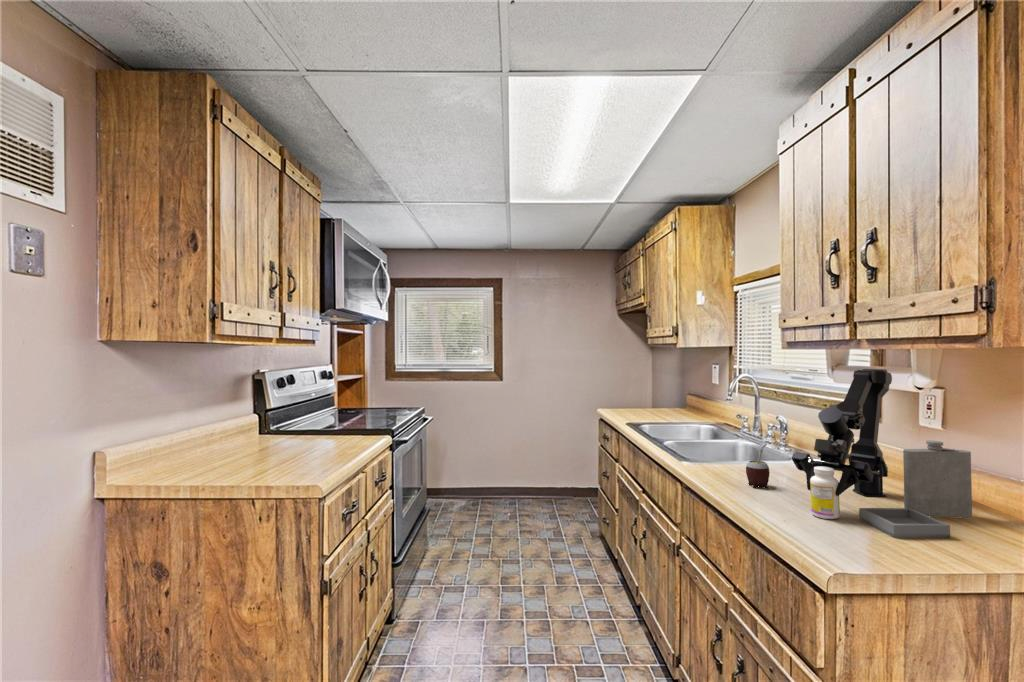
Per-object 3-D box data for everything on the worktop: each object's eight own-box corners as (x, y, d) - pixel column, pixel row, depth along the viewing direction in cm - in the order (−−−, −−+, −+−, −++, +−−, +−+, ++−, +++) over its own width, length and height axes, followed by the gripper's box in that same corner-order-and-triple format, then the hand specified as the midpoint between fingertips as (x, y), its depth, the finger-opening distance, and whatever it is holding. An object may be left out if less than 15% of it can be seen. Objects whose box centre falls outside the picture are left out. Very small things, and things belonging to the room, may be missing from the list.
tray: (910, 519, 135) (909, 508, 135) (950, 537, 122) (949, 525, 122) (859, 519, 135) (859, 508, 135) (893, 537, 122) (893, 525, 122)
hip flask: (909, 516, 137) (907, 442, 137) (899, 512, 141) (898, 439, 141) (975, 518, 135) (973, 442, 135) (963, 513, 139) (962, 440, 139)
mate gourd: (751, 482, 173) (750, 438, 173) (776, 487, 167) (775, 441, 167) (741, 486, 168) (741, 441, 168) (767, 491, 162) (766, 444, 162)
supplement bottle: (824, 510, 142) (823, 464, 142) (845, 518, 136) (844, 469, 136) (805, 513, 140) (804, 466, 140) (826, 521, 134) (825, 472, 134)
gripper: (793, 423, 148) (776, 468, 141) (868, 431, 133) (853, 481, 126) (806, 447, 153) (790, 491, 146) (879, 457, 138) (865, 507, 131)
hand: (822, 492), depth 137 cm, fingers closed on supplement bottle, 7 cm apart
